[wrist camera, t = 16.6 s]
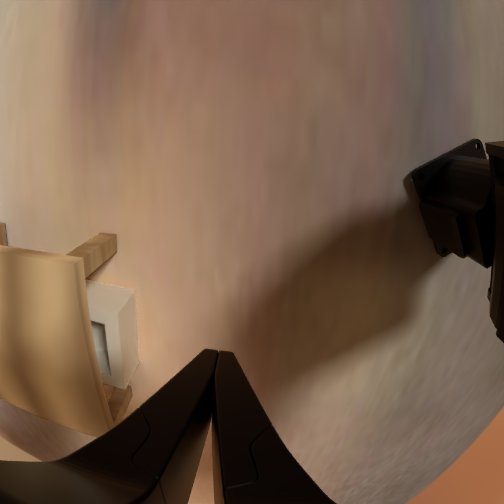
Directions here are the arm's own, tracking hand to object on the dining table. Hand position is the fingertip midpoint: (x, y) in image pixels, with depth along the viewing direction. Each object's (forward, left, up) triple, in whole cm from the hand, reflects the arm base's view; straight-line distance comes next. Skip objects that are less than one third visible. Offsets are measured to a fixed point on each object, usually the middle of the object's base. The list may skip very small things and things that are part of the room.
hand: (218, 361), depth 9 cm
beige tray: (+14, -1, -11) cm, 18 cm away
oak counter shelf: (+16, -2, -11) cm, 19 cm away
